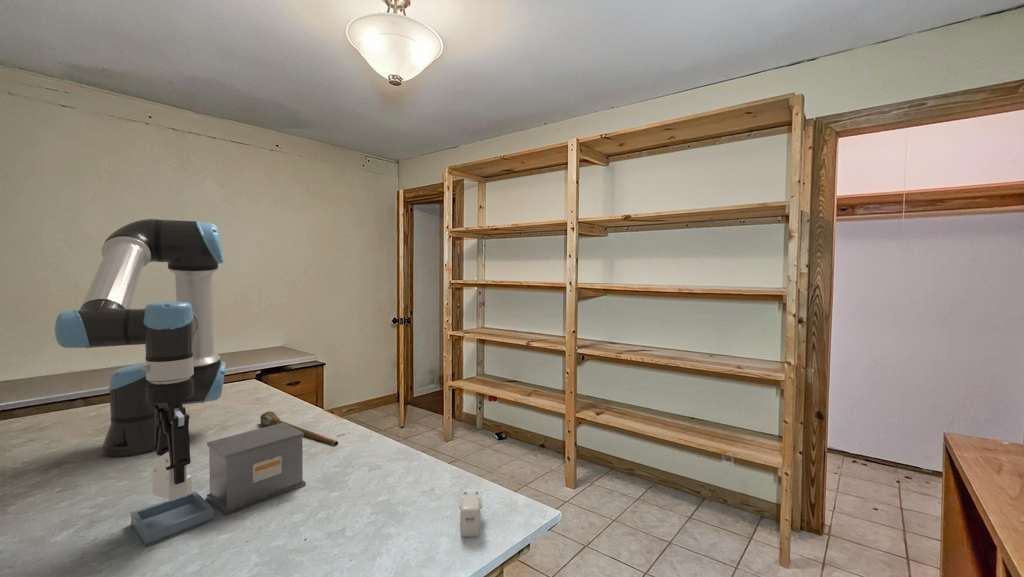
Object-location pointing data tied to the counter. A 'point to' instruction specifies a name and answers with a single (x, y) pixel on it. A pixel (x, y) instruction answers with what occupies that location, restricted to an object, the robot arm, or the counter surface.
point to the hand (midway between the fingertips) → (172, 491)
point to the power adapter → (470, 515)
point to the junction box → (254, 467)
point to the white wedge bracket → (164, 477)
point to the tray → (171, 518)
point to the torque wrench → (272, 419)
